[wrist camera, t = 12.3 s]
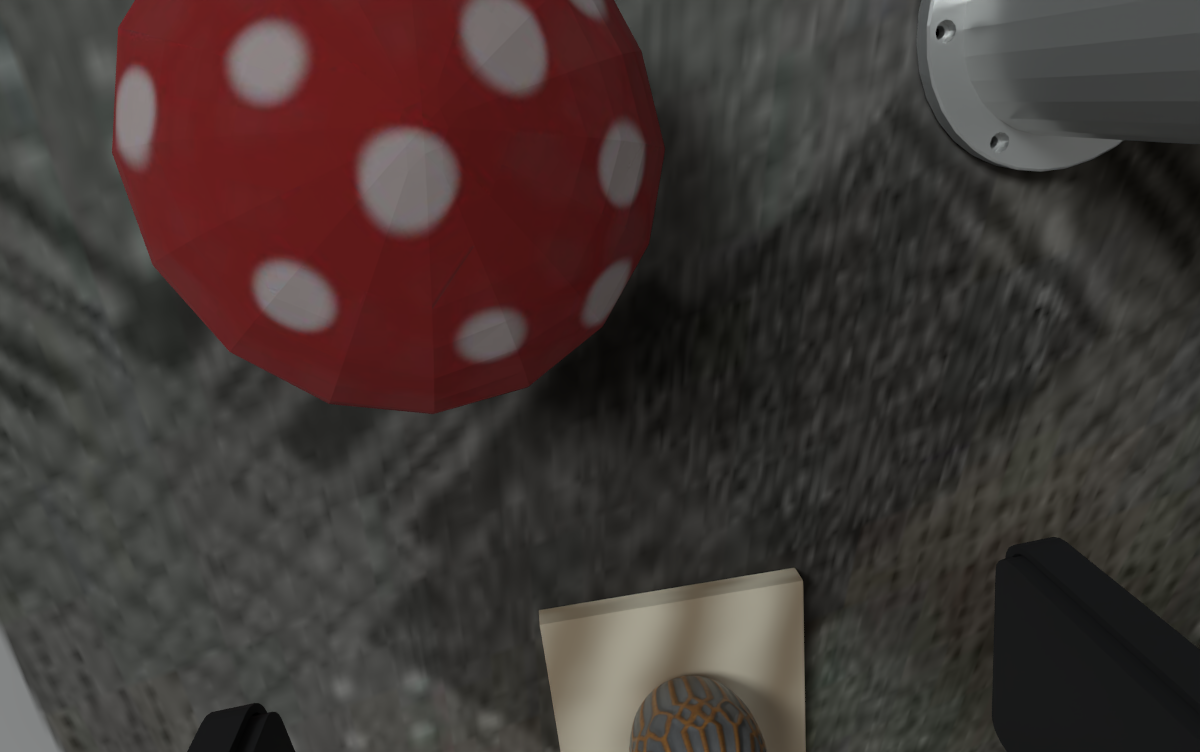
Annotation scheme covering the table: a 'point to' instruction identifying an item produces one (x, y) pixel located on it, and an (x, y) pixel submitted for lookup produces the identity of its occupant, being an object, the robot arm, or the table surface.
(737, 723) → the vase
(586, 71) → the decorative mushroom
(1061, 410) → the table surface
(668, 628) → the birch pad
